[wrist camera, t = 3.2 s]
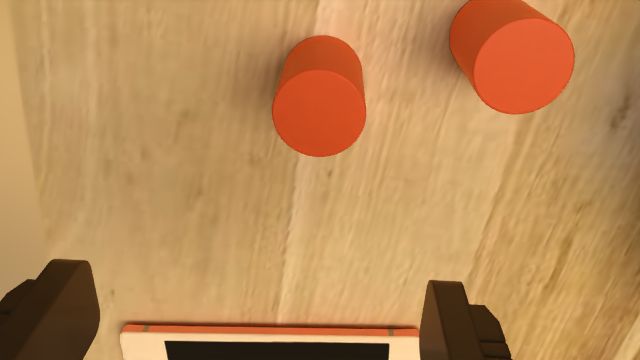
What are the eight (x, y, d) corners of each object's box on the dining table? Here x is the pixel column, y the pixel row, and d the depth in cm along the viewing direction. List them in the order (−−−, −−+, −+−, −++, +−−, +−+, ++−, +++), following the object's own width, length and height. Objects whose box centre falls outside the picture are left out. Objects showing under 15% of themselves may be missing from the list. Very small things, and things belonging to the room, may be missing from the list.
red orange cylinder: (279, 104, 26) (267, 150, 22) (289, 29, 24) (277, 62, 20) (354, 116, 26) (356, 163, 22) (369, 42, 24) (374, 77, 20)
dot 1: (439, 67, 25) (460, 107, 20) (461, -15, 23) (489, 9, 19) (516, 79, 25) (554, 121, 21) (544, -1, 23) (591, 26, 19)
